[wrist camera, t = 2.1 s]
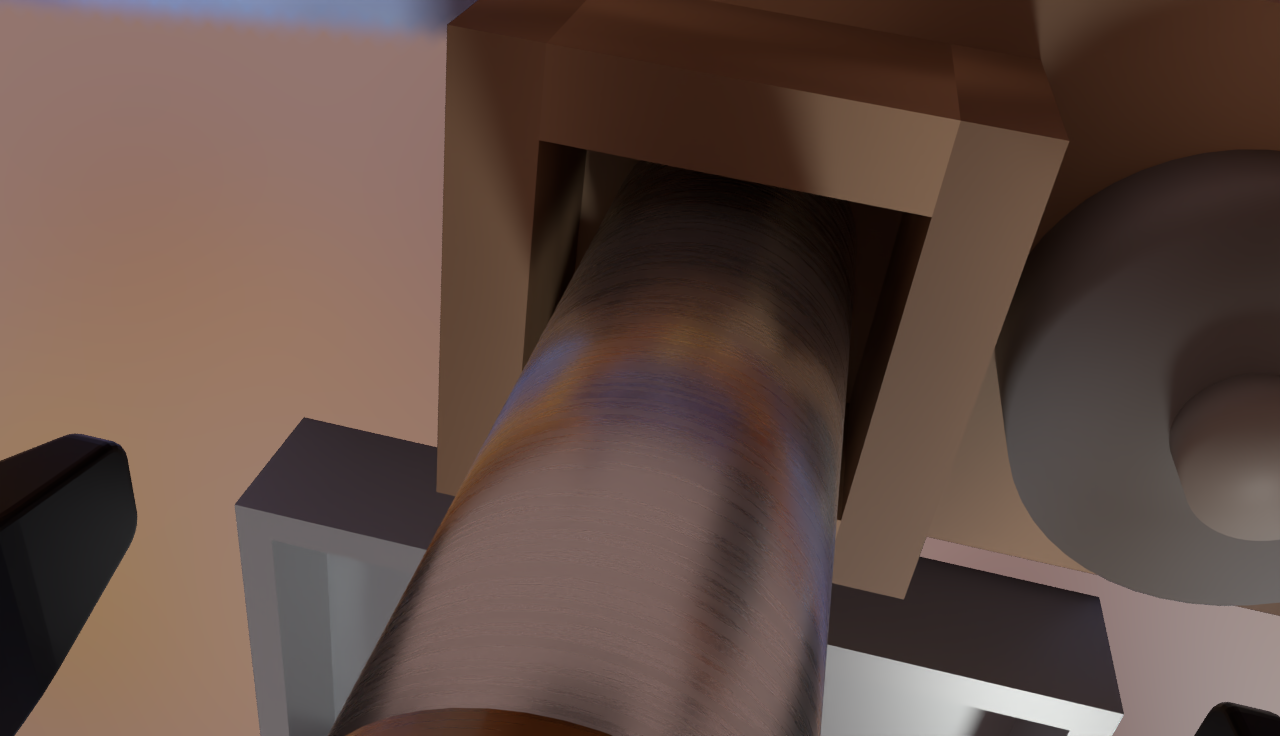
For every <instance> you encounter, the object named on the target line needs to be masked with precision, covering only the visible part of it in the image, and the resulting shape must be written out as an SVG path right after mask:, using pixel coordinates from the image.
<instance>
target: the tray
mask: <svg viewBox="0 0 1280 736" xmlns="http://www.w3.org/2000/svg"><path fill="white" fill-rule="evenodd" d="M436 488H437V447H432V446H428V445H424V444H420V443H415V442H411V441H406V440H402V439H397V438H393V437H389V436H384V435H380V434H375V433H371V432H366V431H362V430H358V429H353V428H348V427H344V426H340V425H335V424H331V423H326V422H322V421H318V420H313V419H309V418H303V419H302V420H301V422H300V423H299V424H298V425H297V427H296V428H295V430H293V432H292V433H291V434H290V436H289V437H288V438H287V439H286V441H285V442H284V443H283V444H282V446H281V447H280V448H279V449H278V451H277V452H276V453H275V455H274V456H273V457H272V458H271V460H270V461H269V462H268V463H267V465H266V466H265V467H264V468H263V470H262V471H261V472H260V473H259V475H258V476H257V477H256V478H255V480H254V481H253V482H252V483H251V485H250V486H249V487H248V488H247V490H246V491H245V492H244V494H243V495H242V496H241V497H240V499H239V500H238V501H237V502H236V504H235V512H236V521H237V530H238V537H239V548H240V556H241V565H242V574H243V582H244V592H245V601H246V610H247V618H248V628H249V637H250V645H251V654H252V664H253V672H254V682H255V691H256V699H257V708H258V717H259V726H260V735H261V736H328V734H329V732H330V730H331V728H332V726H333V725H334V723H335V721H336V719H337V717H338V715H339V713H340V711H341V710H342V708H343V706H344V704H345V702H346V700H347V698H348V696H349V695H350V693H351V691H352V689H353V687H354V685H355V683H356V681H357V680H358V678H359V676H360V674H361V672H362V670H363V668H364V666H365V665H366V663H367V661H368V659H369V657H370V655H371V653H372V652H373V650H374V648H375V646H376V644H377V642H378V640H379V638H380V637H381V635H382V633H383V631H384V629H385V627H386V625H387V623H388V622H389V620H390V618H391V616H392V614H393V612H394V610H395V608H396V607H397V605H398V603H399V601H400V599H401V597H402V595H403V594H404V592H405V590H406V588H407V586H408V584H409V582H410V580H411V579H412V577H413V575H414V573H415V571H416V569H417V567H418V565H419V564H420V562H421V560H422V558H423V556H424V554H425V552H426V550H427V549H428V547H429V545H430V543H431V541H432V539H433V537H434V536H435V534H436V532H437V530H438V528H439V526H440V524H441V522H442V521H443V519H444V517H445V515H446V513H447V511H448V509H449V507H450V506H451V504H452V502H453V500H454V498H455V496H452V495H448V494H443V493H439V492H436ZM1123 715H1124V713H1123V708H1122V703H1121V698H1120V694H1119V689H1118V684H1117V679H1116V675H1115V670H1114V665H1113V661H1112V656H1111V651H1110V646H1109V642H1108V637H1107V632H1106V627H1105V623H1104V618H1103V613H1102V608H1101V604H1100V599H1099V597H1096V596H1091V595H1087V594H1083V593H1078V592H1074V591H1069V590H1064V589H1060V588H1056V587H1052V586H1047V585H1043V584H1038V583H1034V582H1029V581H1025V580H1020V579H1016V578H1012V577H1007V576H1003V575H998V574H994V573H989V572H985V571H981V570H976V569H972V568H968V567H963V566H959V565H954V564H950V563H945V562H941V561H937V560H932V559H928V558H923V557H919V559H918V562H917V564H916V567H915V570H914V573H913V576H912V578H911V581H910V584H909V587H908V589H907V592H906V595H905V598H904V600H903V599H899V598H895V597H890V596H886V595H882V594H877V593H873V592H869V591H864V590H860V589H856V588H851V587H847V586H843V585H838V584H834V583H832V590H831V603H830V617H829V630H828V643H827V657H826V670H825V683H824V696H823V710H822V723H821V736H1112V735H1113V733H1114V731H1115V729H1116V728H1117V726H1118V724H1119V722H1120V721H1121V719H1122V717H1123Z"/></svg>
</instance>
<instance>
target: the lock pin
mask: <svg viewBox="0 0 1280 736" xmlns="http://www.w3.org/2000/svg"><path fill="white" fill-rule="evenodd" d="M856 258H857V235H856V226H855V222H854V218H853V214H852V210H851V208H850V206H849V203H848V201H847V200H842V199H837V198H831V197H826V196H821V195H816V194H811V193H806V192H801V191H796V190H791V189H786V188H780V187H775V186H770V185H765V184H760V183H755V182H750V181H745V180H740V179H734V178H729V177H724V176H719V175H714V174H709V173H704V172H699V171H694V170H689V169H683V168H678V167H673V166H668V165H663V164H658V163H653V162H648V161H643V160H640V161H639V162H638V163H637V164H636V165H635V166H634V167H633V169H632V170H631V172H630V173H629V174H628V176H627V177H626V179H625V180H624V182H623V184H622V186H621V187H620V189H619V191H618V193H617V195H616V197H615V199H614V201H613V202H612V204H611V206H610V208H609V210H608V212H607V214H606V216H605V217H604V219H603V221H602V223H601V225H600V227H599V229H598V231H597V232H596V234H595V236H594V238H593V240H592V242H591V244H590V245H589V247H588V249H587V251H586V253H585V255H584V257H583V259H582V260H581V262H580V264H579V266H578V268H577V270H576V272H575V274H574V275H573V277H572V279H571V281H570V283H569V285H568V287H567V289H566V290H565V292H564V294H563V296H562V298H561V300H560V302H559V303H558V305H557V307H556V309H555V311H554V313H553V315H552V317H551V318H550V320H549V322H548V324H547V326H546V328H545V330H544V332H543V333H542V335H541V337H540V339H539V341H538V343H537V345H536V347H535V348H534V350H533V352H532V354H531V356H530V358H529V360H528V361H527V363H526V365H525V367H524V369H523V371H522V373H521V375H520V376H519V378H518V380H517V382H516V384H515V386H514V388H513V390H512V391H511V393H510V395H509V397H508V399H507V401H506V403H505V405H504V406H503V408H502V410H501V412H500V414H499V416H498V418H497V420H496V421H495V423H494V425H493V427H492V429H491V431H490V433H489V434H488V436H487V438H486V440H485V442H484V444H483V446H482V448H481V449H480V451H479V453H478V455H477V457H476V459H475V461H474V463H473V464H472V466H471V468H470V470H469V472H468V474H467V476H466V478H465V479H464V481H463V483H462V485H461V487H460V489H459V491H458V492H457V494H456V496H455V498H454V500H453V502H452V504H451V506H450V507H449V509H448V511H447V513H446V515H445V517H444V519H443V521H442V522H441V524H440V526H439V528H438V530H437V532H436V534H435V536H434V537H433V539H432V541H431V543H430V545H429V547H428V549H427V550H426V552H425V554H424V556H423V558H422V560H421V562H420V564H419V565H418V567H417V569H416V571H415V573H414V575H413V577H412V579H411V580H410V582H409V584H408V586H407V588H406V590H405V592H404V594H403V595H402V597H401V599H400V601H399V603H398V605H397V607H396V608H395V610H394V612H393V614H392V616H391V618H390V620H389V622H388V623H387V625H386V627H385V629H384V631H383V633H382V635H381V637H380V638H379V640H378V642H377V644H376V646H375V648H374V650H373V652H372V653H371V655H370V657H369V659H368V661H367V663H366V665H365V666H364V668H363V670H362V672H361V674H360V676H359V678H358V680H357V681H356V683H355V685H354V687H353V689H352V691H351V693H350V695H349V696H348V698H347V700H346V702H345V704H344V706H343V708H342V710H341V711H340V713H339V715H338V717H337V719H336V721H335V723H334V725H333V726H332V728H331V730H330V732H329V734H328V736H821V723H822V710H823V696H824V683H825V670H826V657H827V643H828V630H829V617H830V603H831V590H832V577H833V563H834V550H835V537H836V524H837V510H838V497H839V484H840V470H841V457H842V444H843V430H844V417H845V404H846V391H847V377H848V364H849V351H850V337H851V324H852V311H853V297H854V284H855V271H856Z"/></svg>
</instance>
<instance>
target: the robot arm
mask: <svg viewBox="0 0 1280 736" xmlns="http://www.w3.org/2000/svg"><path fill="white" fill-rule="evenodd" d="M136 526H137V510H136V505H135V499H134V493H133V488H132V482H131V476H130V471H129V465H128V459H127V456H126V452H125V451H124V449H123V448H122V447H121V446H120V445H119V444H117V443H115V442H113V441H109V440H105V439H101V438H96V437H92V436H88V435H83V434H69V435H66V436H63V437H60V438H57V439H55V440H52V441H50V442H47V443H45V444H42V445H40V446H37V447H35V448H32V449H30V450H27V451H24V452H22V453H19V454H17V455H14V456H12V457H9V458H7V459H4V460H1V461H0V736H14V735H15V734H16V733H17V731H18V730H19V729H20V727H21V726H22V724H23V723H24V722H25V720H26V719H27V717H28V716H29V714H30V713H31V711H32V710H33V709H34V707H35V706H36V704H37V703H38V701H39V700H40V698H41V697H42V696H43V694H44V692H45V690H46V689H47V687H48V686H49V684H50V683H51V681H52V679H53V678H54V676H55V675H56V673H57V671H58V669H59V668H60V666H61V664H62V663H63V661H64V659H65V657H66V656H67V654H68V652H69V650H70V649H71V647H72V645H73V644H74V642H75V640H76V638H77V637H78V635H79V633H80V631H81V630H82V628H83V626H84V624H85V623H86V621H87V619H88V617H89V616H90V614H91V612H92V610H93V609H94V607H95V605H96V603H97V602H98V600H99V598H100V597H101V595H102V593H103V591H104V590H105V588H106V586H107V584H108V583H109V581H110V579H111V577H112V576H113V574H114V572H115V570H116V569H117V567H118V565H119V563H120V562H121V560H122V558H123V556H124V555H125V553H126V551H127V550H128V548H129V546H130V544H131V542H132V540H133V537H134V534H135V530H136ZM1194 736H1280V717H1279V716H1278V715H1276V714H1274V713H1272V712H1269V711H1265V710H1261V709H1256V708H1252V707H1248V706H1243V705H1239V704H1235V703H1230V702H1224V703H1223V702H1222V703H1220V704H1218V705H1216V706H1214V707H1213V708H1212V710H1211V711H1210V712H1209V713H1208V715H1207V716H1206V718H1205V719H1204V721H1203V723H1202V724H1201V726H1200V727H1199V729H1198V731H1197V732H1196V734H1195V735H1194Z"/></svg>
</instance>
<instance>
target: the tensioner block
mask: <svg viewBox="0 0 1280 736" xmlns="http://www.w3.org/2000/svg"><path fill="white" fill-rule="evenodd" d="M640 160H643V161H648V162H653V163H658V164H663V165H668V166H673V167H678V168H683V169H689V170H694V171H699V172H704V173H709V174H714V175H719V176H724V177H729V178H734V179H740V180H745V181H750V182H755V183H760V184H765V185H770V186H775V187H780V188H786V189H791V190H796V191H801V192H806V193H811V194H816V195H821V196H826V197H831V198H837V199H842V200H847V201H848V203H849V206H850V208H851V210H852V214H853V218H854V222H855V226H856V235H857V258H856V271H855V284H854V297H853V311H852V324H851V337H850V351H849V364H848V377H847V391H846V404H845V417H844V430H843V444H842V457H841V470H840V484H839V497H838V510H837V524H836V537H835V550H834V563H833V577H832V583H834V584H838V585H843V586H847V587H851V588H856V589H860V590H864V591H869V592H873V593H877V594H882V595H886V596H890V597H895V598H899V599H903V600H904V598H905V595H906V592H907V589H908V587H909V584H910V581H911V578H912V576H913V573H914V570H915V567H916V564H917V562H918V559H919V556H920V553H921V551H922V548H923V545H924V542H925V540H926V537H930V538H935V539H939V540H944V541H948V542H953V543H957V544H962V545H967V546H971V547H975V548H980V549H984V550H988V551H993V552H997V553H1002V554H1006V555H1011V556H1015V557H1019V558H1024V559H1028V560H1033V561H1037V562H1042V563H1046V564H1051V565H1055V566H1060V567H1064V568H1069V569H1073V570H1077V571H1082V572H1087V573H1091V574H1095V575H1099V576H1101V577H1103V578H1104V579H1106V580H1108V581H1110V582H1113V583H1116V584H1118V585H1121V586H1123V587H1126V588H1128V589H1131V590H1133V591H1136V592H1140V593H1144V594H1147V595H1151V596H1155V597H1158V598H1163V599H1168V600H1174V601H1179V602H1185V603H1192V604H1205V605H1217V606H1231V605H1232V606H1238V607H1242V608H1247V609H1251V610H1256V611H1260V612H1265V613H1269V614H1274V615H1278V616H1280V0H478V1H477V2H475V3H474V4H473V5H472V6H470V7H469V8H468V9H467V10H465V11H464V12H463V13H462V14H460V15H459V16H458V17H456V18H455V19H454V20H453V21H451V22H450V23H449V24H448V25H447V63H446V105H445V150H444V190H443V195H444V196H443V233H442V277H441V319H440V361H439V404H438V446H437V488H436V492H439V493H443V494H448V495H452V496H456V494H457V492H458V491H459V489H460V487H461V485H462V483H463V481H464V479H465V478H466V476H467V474H468V472H469V470H470V468H471V466H472V464H473V463H474V461H475V459H476V457H477V455H478V453H479V451H480V449H481V448H482V446H483V444H484V442H485V440H486V438H487V436H488V434H489V433H490V431H491V429H492V427H493V425H494V423H495V421H496V420H497V418H498V416H499V414H500V412H501V410H502V408H503V406H504V405H505V403H506V401H507V399H508V397H509V395H510V393H511V391H512V390H513V388H514V386H515V384H516V382H517V380H518V378H519V376H520V375H521V373H522V371H523V369H524V367H525V365H526V363H527V361H528V360H529V358H530V356H531V354H532V352H533V350H534V348H535V347H536V345H537V343H538V341H539V339H540V337H541V335H542V333H543V332H544V330H545V328H546V326H547V324H548V322H549V320H550V318H551V317H552V315H553V313H554V311H555V309H556V307H557V305H558V303H559V302H560V300H561V298H562V296H563V294H564V292H565V290H566V289H567V287H568V285H569V283H570V281H571V279H572V277H573V275H574V274H575V272H576V270H577V268H578V266H579V264H580V262H581V260H582V259H583V257H584V255H585V253H586V251H587V249H588V247H589V245H590V244H591V242H592V240H593V238H594V236H595V234H596V232H597V231H598V229H599V227H600V225H601V223H602V221H603V219H604V217H605V216H606V214H607V212H608V210H609V208H610V206H611V204H612V202H613V201H614V199H615V197H616V195H617V193H618V191H619V189H620V187H621V186H622V184H623V182H624V180H625V179H626V177H627V176H628V174H629V173H630V172H631V170H632V169H633V167H634V166H635V165H636V164H637V163H638V162H639V161H640Z"/></svg>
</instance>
